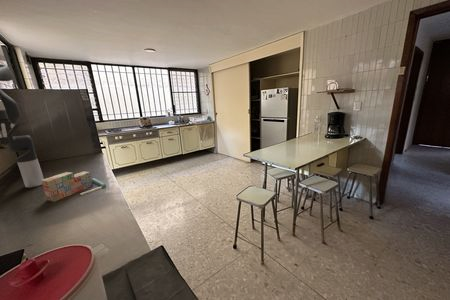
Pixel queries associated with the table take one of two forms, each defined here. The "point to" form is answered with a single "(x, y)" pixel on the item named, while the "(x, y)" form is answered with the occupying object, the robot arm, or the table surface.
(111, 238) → the table surface
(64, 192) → the stack of blocks
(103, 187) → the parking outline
